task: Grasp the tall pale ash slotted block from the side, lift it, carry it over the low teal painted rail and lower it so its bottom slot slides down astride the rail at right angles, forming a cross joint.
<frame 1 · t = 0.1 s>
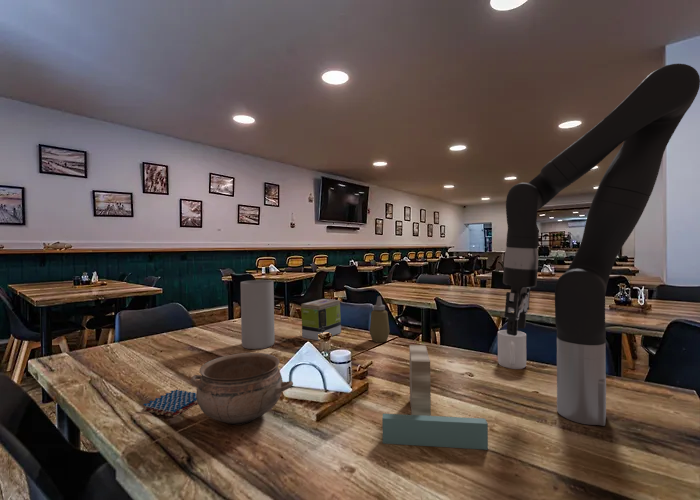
hand: (516, 331, 88), 17 cm above the table, tool pointing down, fingers open, 8 cm apart
cooking pot: (241, 418, 81), on the table
squeeze bottle: (379, 341, 143), on the table
woven mat: (175, 407, 88), on the table
tea box: (321, 336, 152), on the table
rail: (433, 443, 70), on the table
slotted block: (419, 412, 82), on the table
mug: (511, 367, 111), on the table
cylinder vase: (258, 345, 139), on the table
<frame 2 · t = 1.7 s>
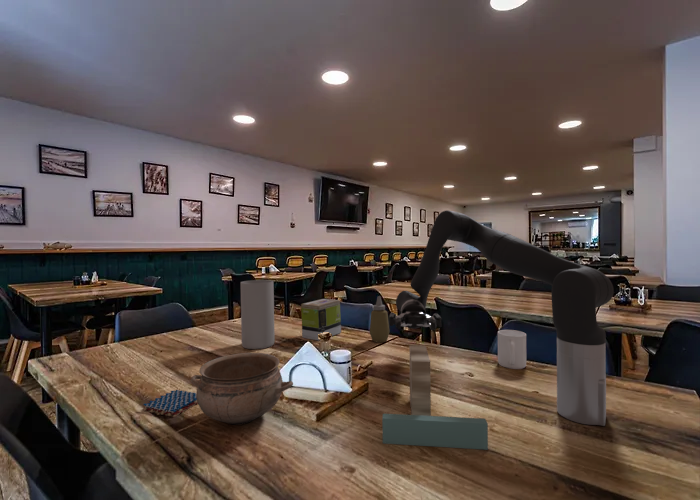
hand: (416, 325, 93), 18 cm above the table, tool horizontal, fingers open, 8 cm apart
nothing on the table moved.
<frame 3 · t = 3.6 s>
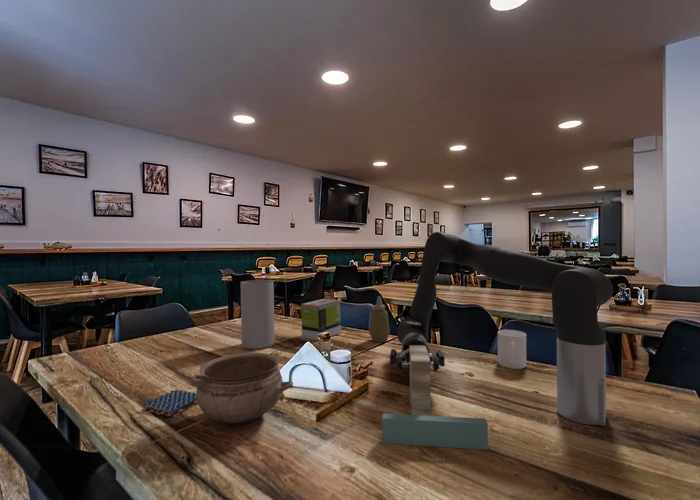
hand: (418, 367, 88), 8 cm above the table, tool horizontal, fingers open, 8 cm apart
nothing on the table moved.
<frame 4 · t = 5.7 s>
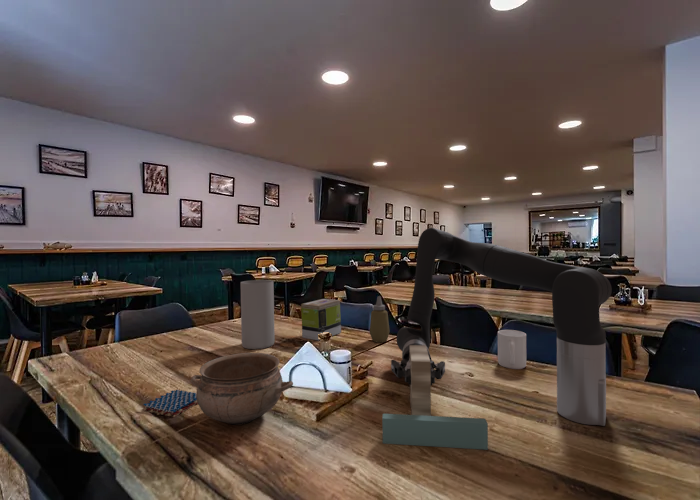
hand: (420, 380, 80), 9 cm above the table, tool horizontal, fingers closed on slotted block, 4 cm apart
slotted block: (419, 412, 82), on the table, touching gripper
everything else where it was.
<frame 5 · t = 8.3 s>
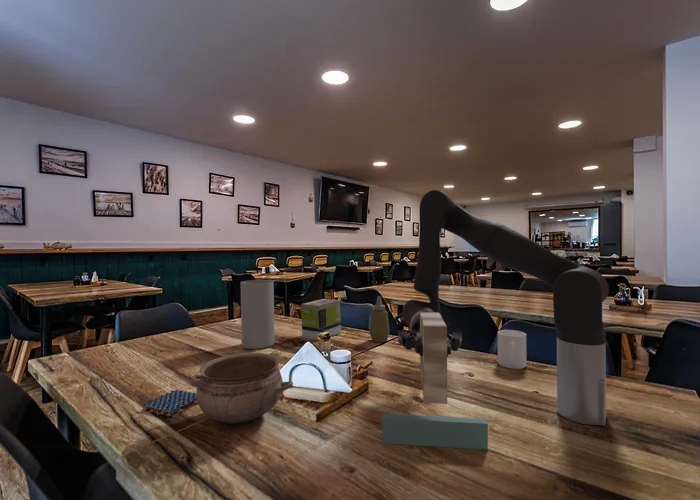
hand: (433, 351, 67), 19 cm above the table, tool horizontal, fingers closed on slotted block, 4 cm apart
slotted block: (432, 389, 70), point 11 cm above the table, touching gripper
everything else where it was.
when the fingers open (10 cm above the table, at t = 10.7 s): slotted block drops 1 cm, on the table.
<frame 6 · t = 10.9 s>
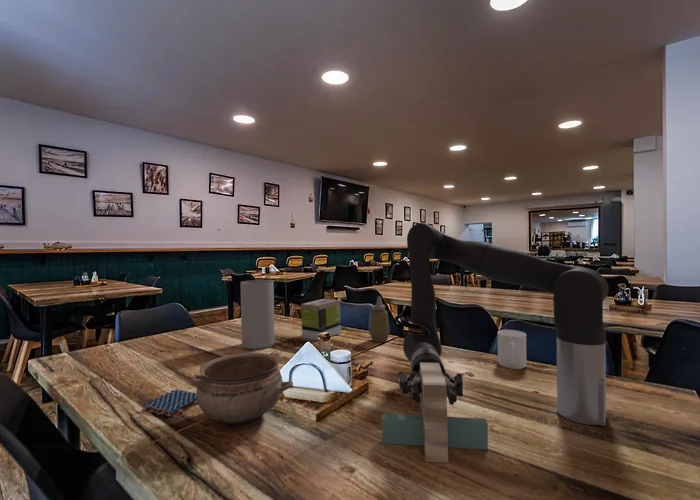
hand: (434, 398, 67), 10 cm above the table, tool horizontal, fingers open, 6 cm apart
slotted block: (433, 443, 70), on the table
everything else where it was.
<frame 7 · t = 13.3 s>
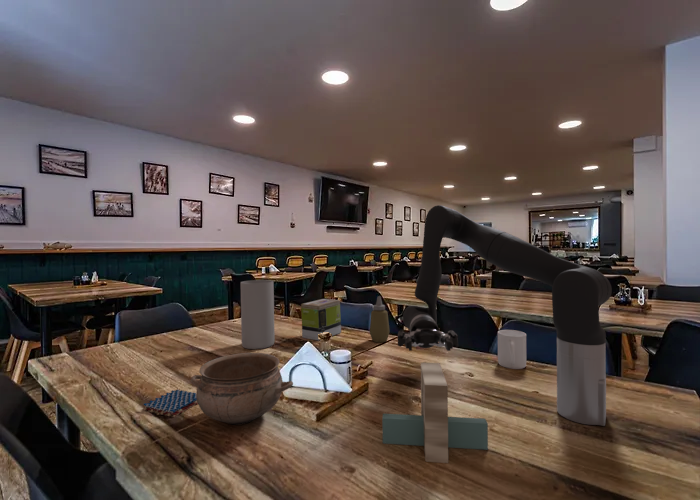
hand: (429, 346, 80), 16 cm above the table, tool horizontal, fingers open, 8 cm apart
nothing on the table moved.
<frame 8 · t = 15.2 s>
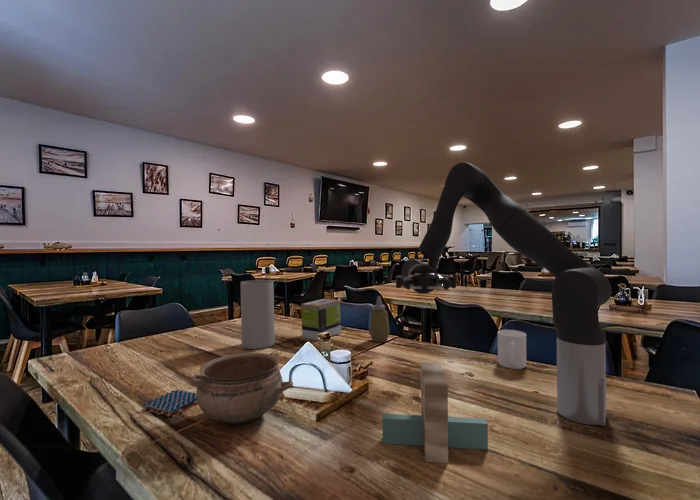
hand: (427, 285, 80), 30 cm above the table, tool horizontal, fingers open, 8 cm apart
nothing on the table moved.
at the end: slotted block 0.0 cm off-centre on the rail, point 0.0 cm above the rail's base; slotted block tilted 0°; the gripper is holding nothing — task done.
